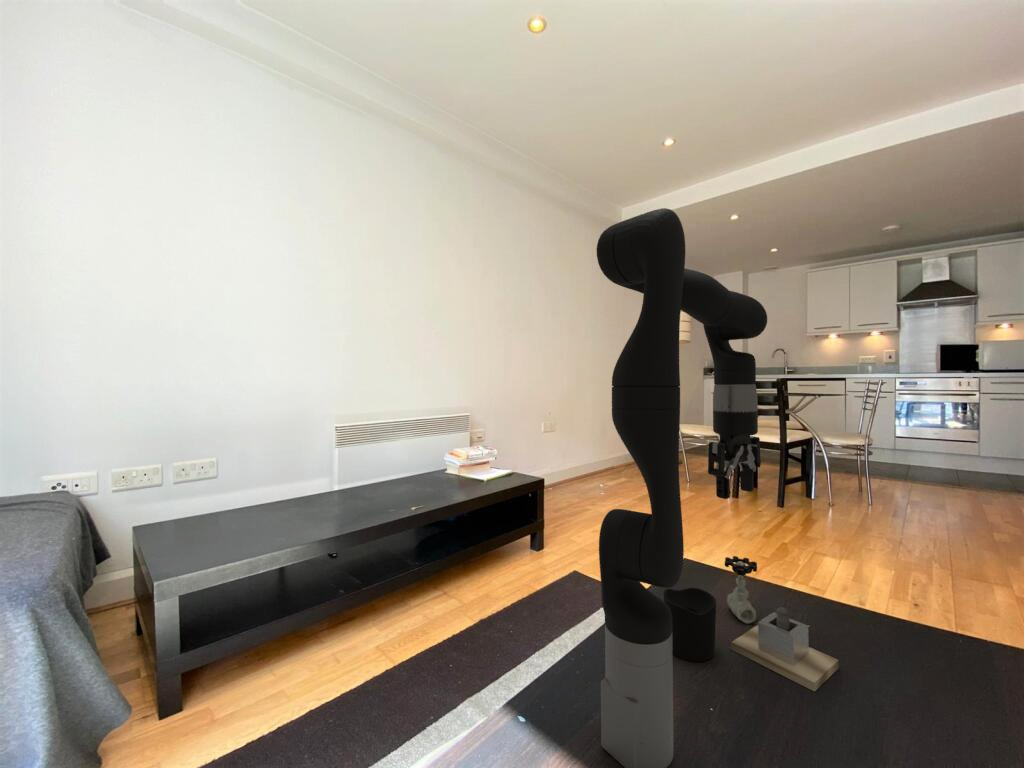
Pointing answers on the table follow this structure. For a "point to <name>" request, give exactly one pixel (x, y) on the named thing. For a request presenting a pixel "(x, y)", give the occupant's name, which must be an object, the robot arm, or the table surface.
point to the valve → (741, 589)
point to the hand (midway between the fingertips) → (735, 494)
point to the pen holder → (692, 623)
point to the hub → (783, 639)
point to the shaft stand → (804, 672)
